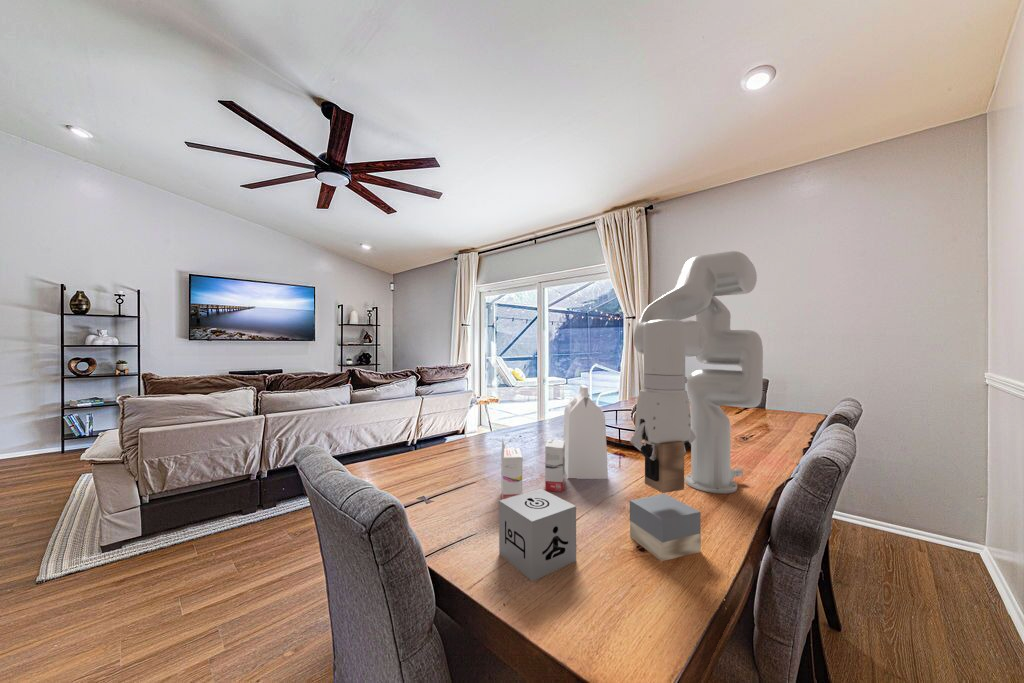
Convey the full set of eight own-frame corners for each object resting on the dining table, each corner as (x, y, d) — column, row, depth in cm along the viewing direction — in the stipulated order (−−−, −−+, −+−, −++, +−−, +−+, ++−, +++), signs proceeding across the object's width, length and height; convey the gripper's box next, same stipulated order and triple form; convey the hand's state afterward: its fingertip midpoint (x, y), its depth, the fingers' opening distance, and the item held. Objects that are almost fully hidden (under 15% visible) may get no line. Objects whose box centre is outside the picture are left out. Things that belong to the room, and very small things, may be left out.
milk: (608, 479, 108) (607, 388, 108) (567, 479, 108) (567, 388, 108) (598, 465, 120) (598, 384, 120) (562, 465, 120) (562, 384, 120)
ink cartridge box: (523, 506, 90) (523, 444, 90) (502, 506, 90) (502, 445, 90) (519, 491, 99) (519, 435, 99) (500, 492, 98) (500, 436, 98)
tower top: (664, 512, 79) (664, 493, 79) (700, 533, 70) (700, 511, 70) (629, 520, 75) (629, 500, 75) (662, 542, 67) (662, 520, 67)
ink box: (563, 493, 98) (563, 447, 98) (544, 491, 99) (544, 446, 99) (565, 480, 106) (565, 439, 107) (548, 479, 107) (548, 438, 107)
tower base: (666, 532, 79) (666, 512, 79) (700, 555, 70) (700, 533, 70) (630, 539, 76) (630, 519, 76) (661, 564, 67) (661, 541, 67)
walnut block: (665, 480, 76) (665, 436, 76) (684, 489, 71) (684, 442, 71) (644, 483, 74) (644, 437, 74) (662, 493, 70) (662, 444, 70)
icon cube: (499, 554, 70) (499, 500, 70) (541, 538, 76) (540, 488, 76) (532, 582, 62) (531, 521, 62) (576, 561, 67) (576, 506, 67)
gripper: (684, 380, 79) (684, 466, 79) (615, 382, 74) (615, 475, 74) (713, 383, 72) (713, 478, 72) (639, 387, 67) (639, 489, 66)
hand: (664, 476), depth 73 cm, fingers closed on walnut block, 5 cm apart
